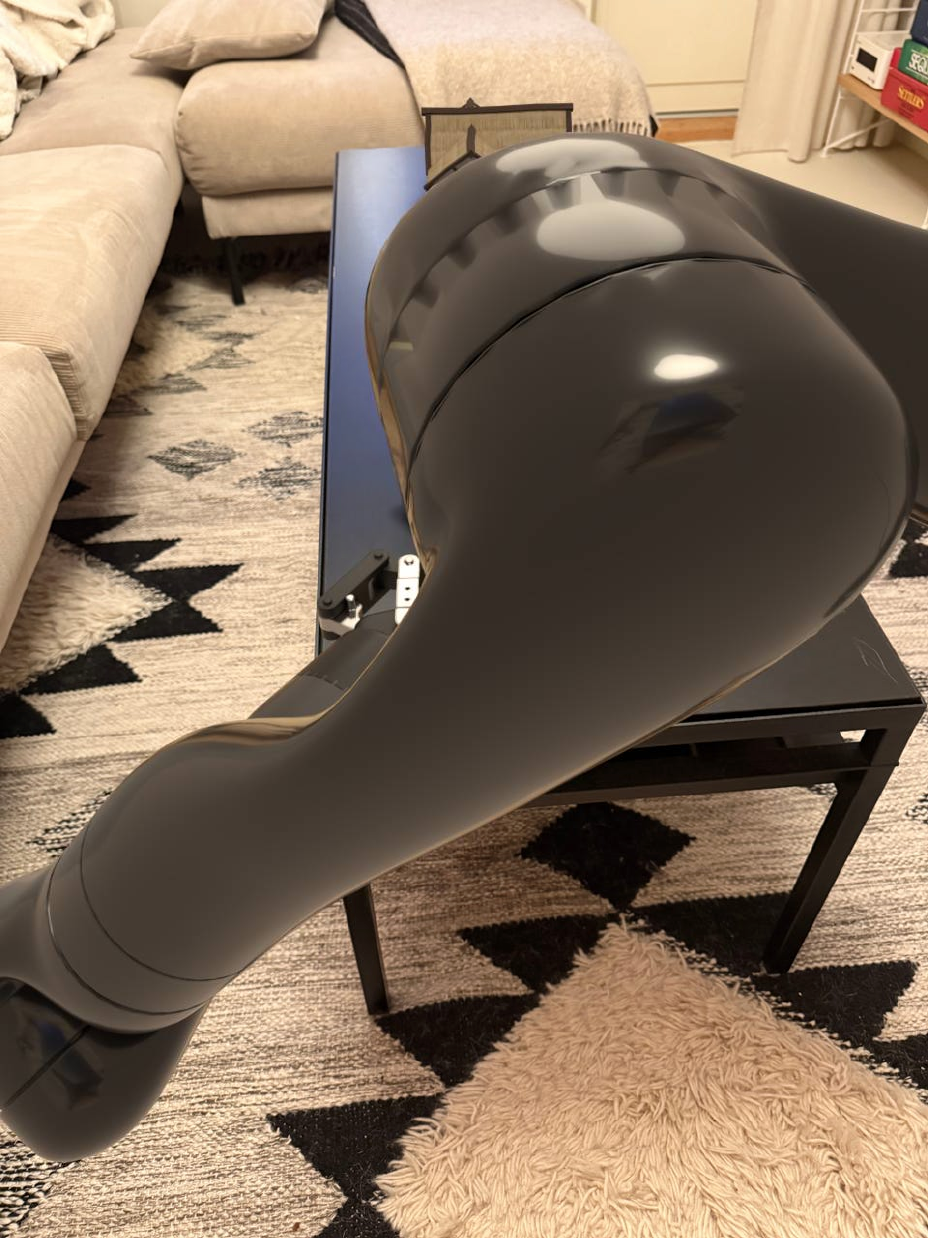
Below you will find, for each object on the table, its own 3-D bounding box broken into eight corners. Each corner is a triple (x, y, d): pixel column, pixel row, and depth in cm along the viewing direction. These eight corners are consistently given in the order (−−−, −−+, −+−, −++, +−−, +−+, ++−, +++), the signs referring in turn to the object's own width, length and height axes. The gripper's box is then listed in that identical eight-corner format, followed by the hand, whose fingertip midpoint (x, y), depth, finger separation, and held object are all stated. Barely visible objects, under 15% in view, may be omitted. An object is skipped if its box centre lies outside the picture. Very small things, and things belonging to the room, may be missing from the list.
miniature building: (575, 243, 132) (581, 129, 122) (423, 247, 132) (417, 134, 122) (561, 182, 151) (566, 78, 141) (429, 185, 152) (424, 82, 141)
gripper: (452, 758, 40) (632, 560, 49) (221, 627, 46) (421, 475, 55) (455, 855, 45) (618, 659, 54) (247, 726, 51) (426, 570, 60)
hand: (518, 566), depth 55 cm, fingers open, 8 cm apart
